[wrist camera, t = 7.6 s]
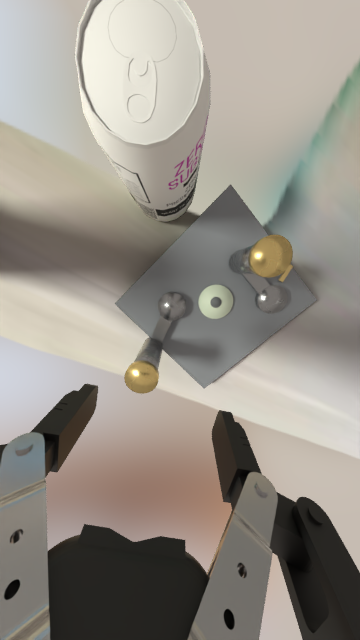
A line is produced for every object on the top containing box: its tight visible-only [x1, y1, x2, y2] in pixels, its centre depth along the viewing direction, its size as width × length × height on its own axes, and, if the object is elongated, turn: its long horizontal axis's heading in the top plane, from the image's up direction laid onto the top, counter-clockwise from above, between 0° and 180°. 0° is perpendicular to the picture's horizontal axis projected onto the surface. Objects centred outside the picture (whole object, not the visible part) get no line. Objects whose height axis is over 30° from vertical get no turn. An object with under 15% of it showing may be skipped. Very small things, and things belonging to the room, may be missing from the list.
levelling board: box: [115, 185, 317, 388], centre depth 27 cm, size 20×22×2 cm
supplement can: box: [75, 0, 210, 222], centre depth 17 cm, size 8×8×15 cm
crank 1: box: [125, 292, 186, 393], centre depth 23 cm, size 11×4×9 cm, turn 155°
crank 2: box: [229, 235, 293, 314], centre depth 21 cm, size 11×4×9 cm, turn 43°
